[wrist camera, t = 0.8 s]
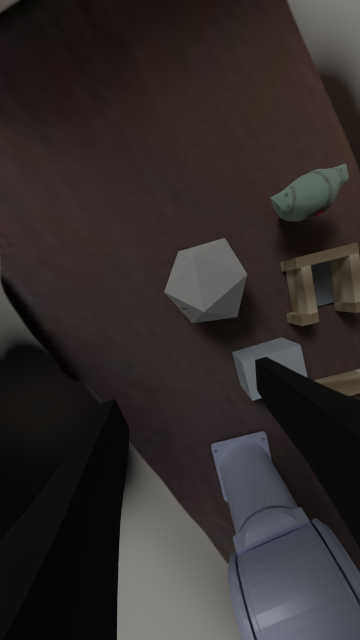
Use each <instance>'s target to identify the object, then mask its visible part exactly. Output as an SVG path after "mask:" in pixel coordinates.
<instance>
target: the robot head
mask: <svg viewBox="0 0 360 640" xmlns="http://www.w3.org/2000/svg"><path fill="white" fill-rule="evenodd" d="M348 179H349V175H348V171H347V166H346V164H343V165H340V166H337V167H334V168H329V169H317V170H314V171H312V172H310V173H308V174H305V175H303V176H301V177H299V178H298V179H297V180H295V181H294V182H293V183H291V184H290V185H289V186H288V187H287V188H285V189H284V190H283V191H282V192H280V193H278V194H276V195H275V196H273V197H271V201H272V204H273V207H274V210H275V212H276V213H277V214H278V216H279V217H280V218H281V219H284V220H287V221H302V220H305V219H308V218H311V217H314V216H317V215H319V214H320V213H322V212H324V211H326V210H327V209H328V208H329V207H330V206H331V205H332V203H333V201H334V200H335V198H336V195H337V193H338V191H339V188H340V187H341V186H342V185H343V184H344V183H345V182H346V181H347V180H348Z"/></svg>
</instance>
